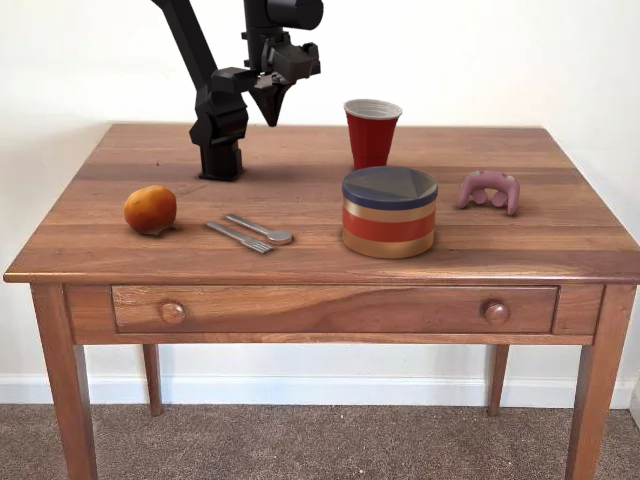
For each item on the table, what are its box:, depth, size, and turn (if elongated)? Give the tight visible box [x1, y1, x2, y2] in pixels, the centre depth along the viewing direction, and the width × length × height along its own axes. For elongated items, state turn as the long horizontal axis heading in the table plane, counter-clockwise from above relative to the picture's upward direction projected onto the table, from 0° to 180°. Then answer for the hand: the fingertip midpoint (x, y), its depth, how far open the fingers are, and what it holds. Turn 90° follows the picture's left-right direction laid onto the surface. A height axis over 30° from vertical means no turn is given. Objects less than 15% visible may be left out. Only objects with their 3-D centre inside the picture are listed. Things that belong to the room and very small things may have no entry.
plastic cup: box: [342, 98, 403, 171], centre depth 137 cm, size 11×11×12 cm
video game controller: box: [457, 170, 521, 216], centre depth 125 cm, size 10×5×7 cm, turn 71°
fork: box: [205, 220, 274, 255], centre depth 114 cm, size 14×2×1 cm, turn 49°
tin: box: [341, 165, 439, 260], centre depth 113 cm, size 14×14×9 cm
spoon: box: [225, 213, 292, 246], centre depth 116 cm, size 14×4×1 cm, turn 49°
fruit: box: [122, 184, 179, 237], centre depth 115 cm, size 8×8×8 cm
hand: (272, 126), depth 122 cm, fingers closed
